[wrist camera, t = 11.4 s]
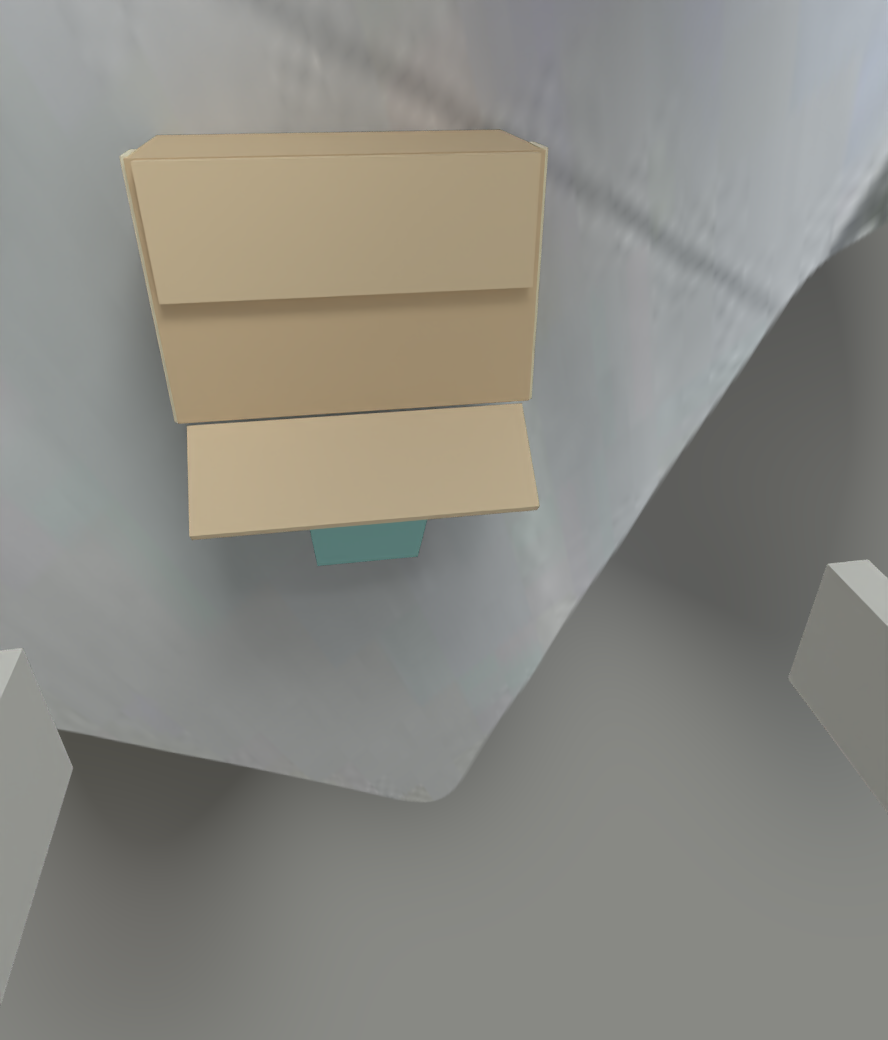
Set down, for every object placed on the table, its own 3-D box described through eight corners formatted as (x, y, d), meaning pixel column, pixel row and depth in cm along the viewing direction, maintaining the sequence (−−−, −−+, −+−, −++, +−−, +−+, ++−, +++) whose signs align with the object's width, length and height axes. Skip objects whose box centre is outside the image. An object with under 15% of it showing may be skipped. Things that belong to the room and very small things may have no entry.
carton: (152, 134, 39) (114, 159, 31) (504, 128, 41) (554, 150, 33) (194, 360, 45) (172, 431, 37) (495, 343, 48) (536, 406, 40)
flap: (189, 536, 36) (220, 579, 44) (539, 506, 38) (508, 552, 46) (186, 425, 38) (217, 487, 46) (521, 403, 40) (494, 465, 48)
